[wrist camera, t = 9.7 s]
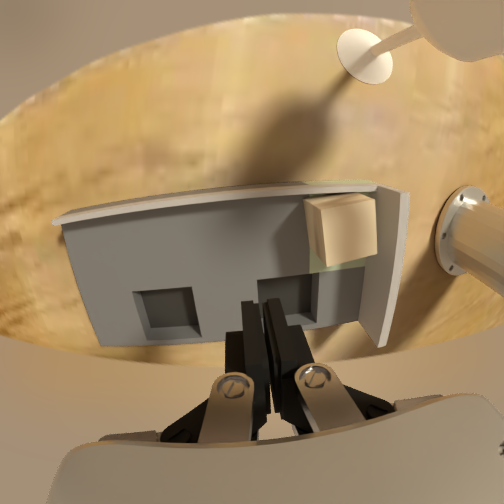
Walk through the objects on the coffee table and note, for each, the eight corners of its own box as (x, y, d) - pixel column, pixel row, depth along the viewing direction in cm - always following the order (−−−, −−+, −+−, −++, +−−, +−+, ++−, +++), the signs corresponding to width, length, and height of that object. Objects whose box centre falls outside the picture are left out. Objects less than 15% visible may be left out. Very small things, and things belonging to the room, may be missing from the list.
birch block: (349, 189, 23) (374, 199, 19) (353, 236, 25) (377, 253, 21) (302, 198, 23) (320, 209, 19) (309, 246, 25) (326, 266, 21)
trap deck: (366, 179, 26) (410, 192, 19) (356, 307, 31) (385, 345, 24) (71, 210, 23) (30, 232, 16) (107, 333, 29) (87, 376, 22)
